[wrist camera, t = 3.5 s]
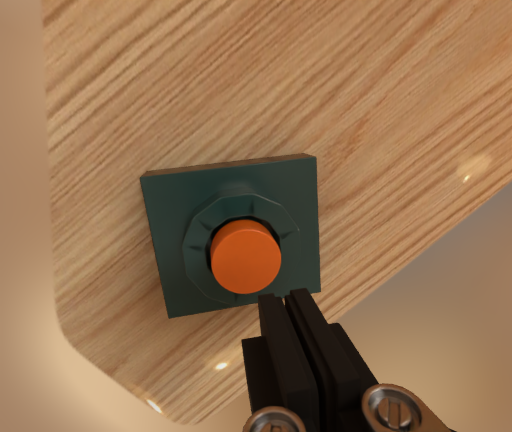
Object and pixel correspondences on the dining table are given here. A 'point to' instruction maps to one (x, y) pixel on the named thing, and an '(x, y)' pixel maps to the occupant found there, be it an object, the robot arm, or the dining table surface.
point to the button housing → (223, 212)
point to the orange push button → (244, 256)
